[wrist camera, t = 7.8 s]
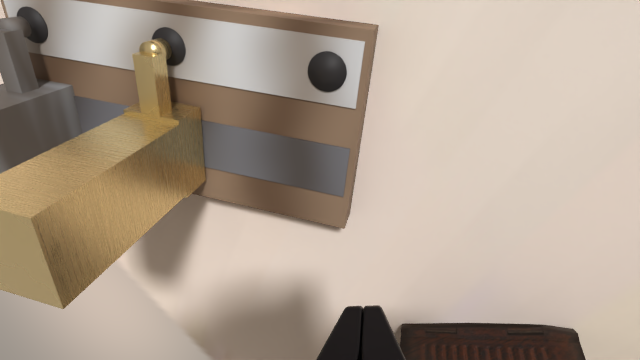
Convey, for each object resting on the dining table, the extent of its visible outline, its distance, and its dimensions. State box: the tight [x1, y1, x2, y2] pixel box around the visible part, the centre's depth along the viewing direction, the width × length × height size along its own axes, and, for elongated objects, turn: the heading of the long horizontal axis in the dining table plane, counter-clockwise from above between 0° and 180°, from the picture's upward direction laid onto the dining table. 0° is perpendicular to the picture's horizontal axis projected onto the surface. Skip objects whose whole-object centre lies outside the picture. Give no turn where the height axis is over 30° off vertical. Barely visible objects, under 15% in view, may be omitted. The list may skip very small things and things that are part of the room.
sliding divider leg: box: [0, 38, 206, 309], centre depth 16 cm, size 3×8×10 cm, turn 175°
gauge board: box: [0, 0, 378, 229], centre depth 17 cm, size 20×10×12 cm, turn 85°
